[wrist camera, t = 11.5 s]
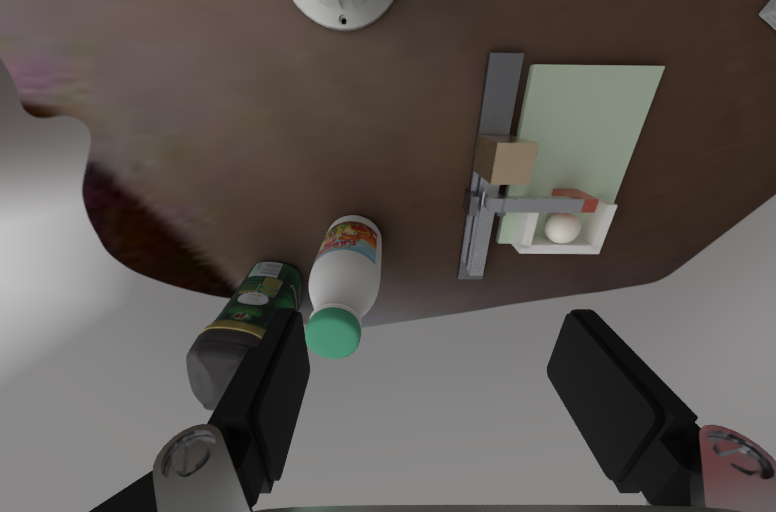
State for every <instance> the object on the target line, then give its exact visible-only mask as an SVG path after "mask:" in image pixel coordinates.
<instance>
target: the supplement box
mask: <svg viewBox="0 0 776 512" xmlns="http://www.w3.org/2000/svg"><path fill="white" fill-rule="evenodd" d="M759 16H760V17H761V18H762V19H764V20H765V21H766V22H767V23H768V24H769V25H770V26H771V27H773V28H774V29H775V30H776V0H770V1H769V2H768V3H767V4H766V5H765V7H764V8H763V9H762V10H761V11H760V13H759Z"/></svg>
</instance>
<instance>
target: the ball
mask: <svg viewBox="0 0 776 512" xmlns="http://www.w3.org/2000/svg"><path fill="white" fill-rule="evenodd" d="M580 230H581V225H580V221H579V220H578V218H577V217H576V216H574V215H573V214H571V213H556V214H554V215H552V216H551V217H550V218H549V219H548V220H547V222H546V224H545V233H546V236H547V237H548V238H549V239H550V240H551V241H553V242H555V243H561V244H563V243H568V242H571V241H573V240H574V239H575V238H576V237H577V236H578V235H579V233H580Z"/></svg>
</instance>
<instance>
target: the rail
mask: <svg viewBox="0 0 776 512" xmlns="http://www.w3.org/2000/svg"><path fill="white" fill-rule="evenodd" d="M523 58H524V53H488V56H487V64H486V71H485V78H484V85H483V92H482V100H481V107H480V114H479V121H478V128H477V136H476V143H475V150H474V157H473V164H472V172H471V179H470V186H469V190H465V195H464V202H463V209H464V210H465V212H466V215H465V222H464V229H463V236H462V244H461V251H460V258H459V265H458V272H457V278H458V279H482V278H483V276H470V275H469V273H468V271H467V264H468V258H469V251H470V245H471V238H472V232H473V225H474V219H475V216H477V210H478V204H479V198H480V197H479V196H478V193H479V187H480V180H481V176H480V175H478V174H477V173H476V172H475V171H473V165H474V158H475V151H476V144H477V137H478V135H509V133H510V127H511V122H512V117H513V111H514V106H515V101H516V95H517V90H518V85H519V79H520V74H521V68H522V63H523ZM498 193H499V194H500V195H501V196H507V195H506V194H504V193H503V192H502V191H501V190H499V191H498ZM495 214H496V215H497V216H505V215H506V212H495ZM493 219H494V218H493ZM492 224H493V223H492ZM490 235H491V234H490ZM487 251H488V250H487ZM485 262H486V261H485ZM484 267H485V266H484Z"/></svg>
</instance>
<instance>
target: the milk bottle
mask: <svg viewBox="0 0 776 512" xmlns="http://www.w3.org/2000/svg"><path fill="white" fill-rule="evenodd" d="M381 255H382V239H381V234H380V232H379V230H378V228H377V227H376V225H375V224H374V223H373V222H371V221H370V220H369V219H367V218H365V217H362V216H357V215H348V216H344V217H341V218H339V219H338V220H336V221H335V222H334V223H333V224H332V225H331V226H330V228H329V230H328V232H327V234H326V236H325V239H324V241H323V243H322V245H321V248H320V250H319V252H318V255H317V257H316V260H315V262H314V264H313V267H312V270H311V273H310V278H309V294H310V298H311V302H312V304H313V307H314V311H313V312H312V314H311V316H310V319H309V322H308V324H307V327H306V331H305V339H306V344H307V345H308V347H309V348H310V349H311V350H312V351H313V352H314V353H315V354H318V355H319V356H322V357H324V358H330V359H339V358H343V357H347V356H349V355H350V354H352V353H353V352H354V351H355V350H356V349H357V347H358V345H359V342H360V337H361V327H362V322H361V318H362V317H363V316H364V315H365V314H366V313H367V312H368V311H369V309H370V308H371V307H372V305H373V304H374V302H375V300H376V297H377V295H378V291H379V286H380V277H381Z"/></svg>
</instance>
